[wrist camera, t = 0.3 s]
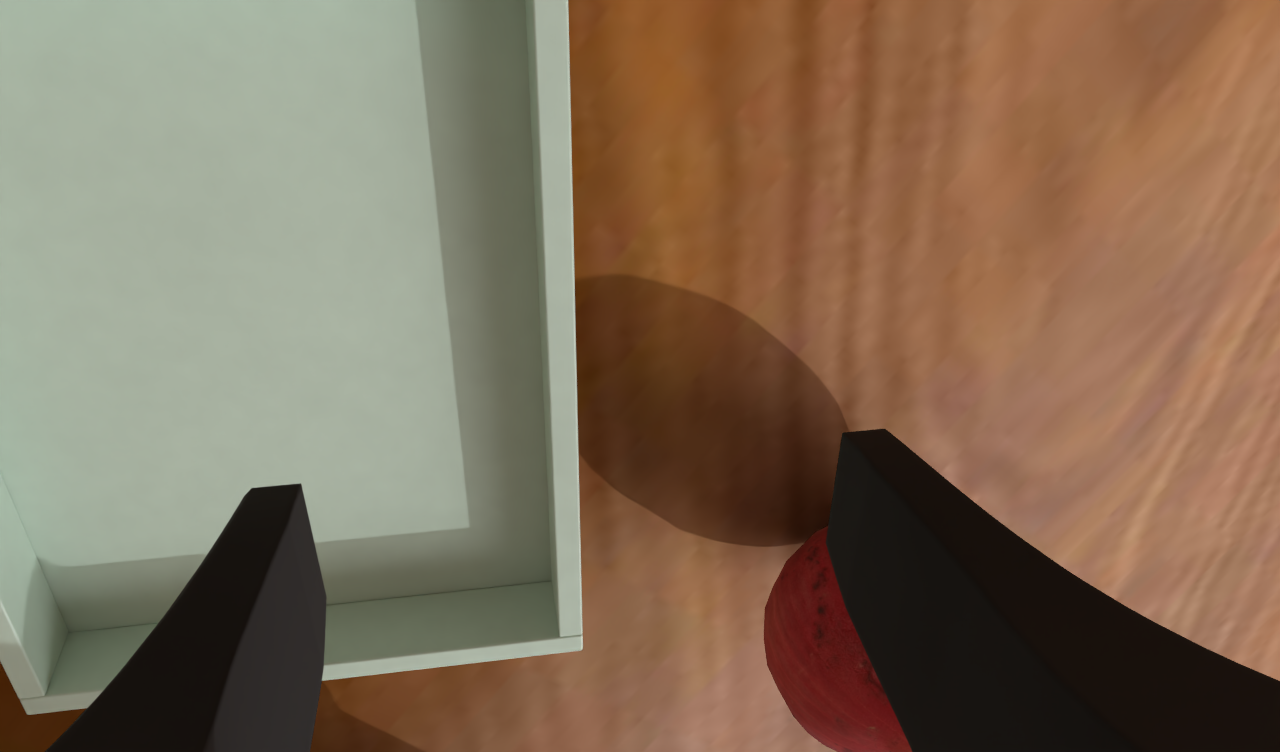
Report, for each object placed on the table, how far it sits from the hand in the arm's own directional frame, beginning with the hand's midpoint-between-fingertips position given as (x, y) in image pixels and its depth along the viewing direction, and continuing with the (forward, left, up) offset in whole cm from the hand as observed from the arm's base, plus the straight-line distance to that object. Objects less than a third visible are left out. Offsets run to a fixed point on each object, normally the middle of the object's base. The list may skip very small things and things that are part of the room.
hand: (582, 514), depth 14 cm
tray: (-3, +6, -10) cm, 12 cm away
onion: (-11, -8, -10) cm, 17 cm away
